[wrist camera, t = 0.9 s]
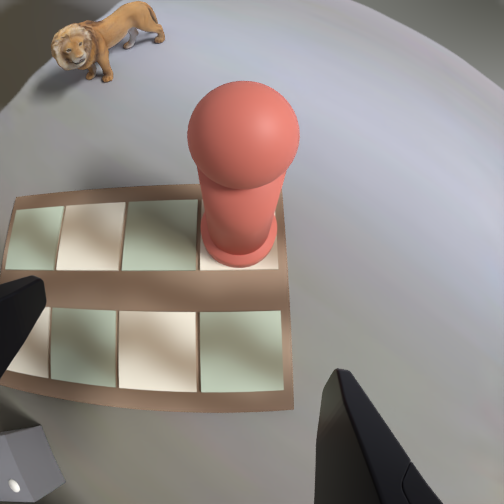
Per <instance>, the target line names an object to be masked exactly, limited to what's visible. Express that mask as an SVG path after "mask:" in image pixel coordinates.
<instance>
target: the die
mask: <svg viewBox="0 0 504 504" xmlns="http://www.w3.org/2000/svg"><path fill="white" fill-rule="evenodd" d="M65 482H66V481H65V479H64V477H63V475H62V473H61V471H60V469H59V467H58V464H57V462H56V460H55V458H54V455H53V453H52V451H51V448H50V446H49V444H48V441H47V439H46V436H45V434H44V431H43V428H42V426H41V425H40V426H35V427H29V428H24V429H18V430H12V431H5V432H0V501H8V502H36V501H38V500H39V499H41V498H42V497H44V496H45V495H47V494H49V493H50V492H52V491H53V490H55V489H56V488H58V487H59V486H61V485H62V484H64V483H65Z"/></svg>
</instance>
